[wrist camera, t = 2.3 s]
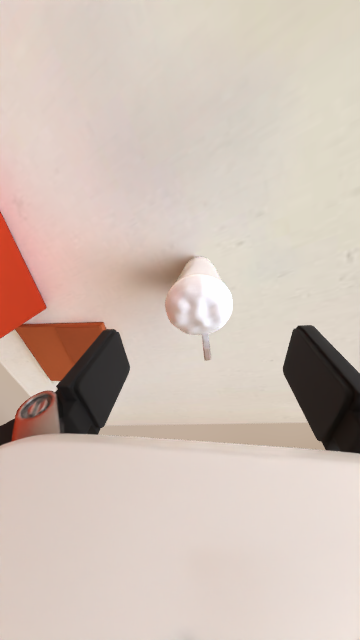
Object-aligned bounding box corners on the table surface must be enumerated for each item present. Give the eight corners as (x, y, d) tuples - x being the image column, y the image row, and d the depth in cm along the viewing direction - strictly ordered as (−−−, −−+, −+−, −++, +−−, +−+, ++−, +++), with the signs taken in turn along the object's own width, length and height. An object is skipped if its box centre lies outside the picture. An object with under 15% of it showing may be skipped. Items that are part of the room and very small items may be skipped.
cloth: (18, 324, 26) (11, 328, 25) (103, 321, 24) (99, 326, 23) (54, 377, 31) (49, 382, 31) (124, 378, 30) (122, 383, 29)
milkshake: (185, 301, 21) (175, 364, 13) (173, 255, 19) (149, 296, 10) (225, 293, 20) (242, 356, 12) (217, 244, 18) (232, 278, 9)
